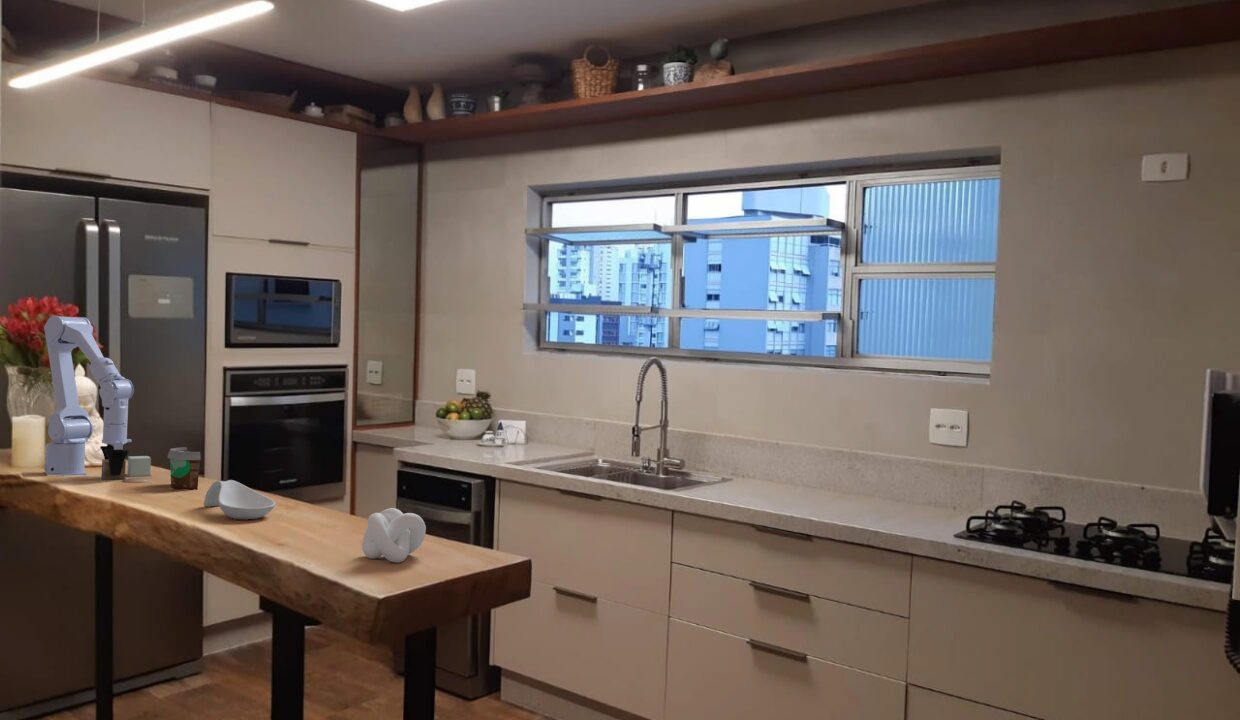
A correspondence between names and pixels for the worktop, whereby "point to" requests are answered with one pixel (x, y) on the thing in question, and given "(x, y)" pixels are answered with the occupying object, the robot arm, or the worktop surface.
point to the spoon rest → (238, 500)
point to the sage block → (139, 466)
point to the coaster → (137, 480)
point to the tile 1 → (106, 480)
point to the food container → (184, 468)
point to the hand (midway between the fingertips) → (113, 473)
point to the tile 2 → (136, 476)
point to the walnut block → (107, 475)
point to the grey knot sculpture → (393, 535)
